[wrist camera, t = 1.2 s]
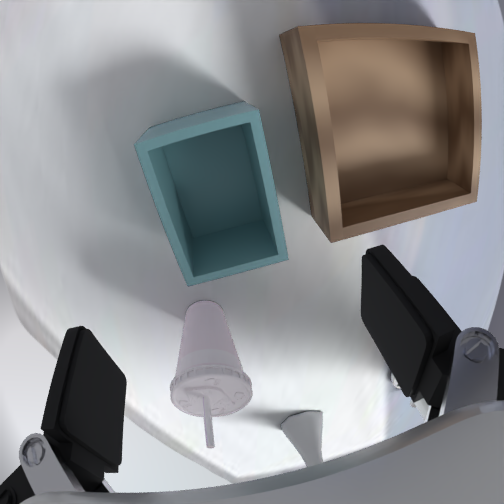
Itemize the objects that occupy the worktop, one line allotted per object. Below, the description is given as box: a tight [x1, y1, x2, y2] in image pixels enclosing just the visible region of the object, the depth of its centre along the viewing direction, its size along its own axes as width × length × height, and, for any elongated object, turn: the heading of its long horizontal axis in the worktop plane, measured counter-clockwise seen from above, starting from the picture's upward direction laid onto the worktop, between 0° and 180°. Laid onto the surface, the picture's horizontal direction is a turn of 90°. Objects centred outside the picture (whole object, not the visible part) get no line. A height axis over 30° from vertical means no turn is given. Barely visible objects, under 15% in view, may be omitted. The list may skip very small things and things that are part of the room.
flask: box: [281, 411, 323, 467], centre depth 42 cm, size 7×7×10 cm
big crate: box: [279, 23, 482, 243], centre depth 21 cm, size 15×15×4 cm
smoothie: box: [170, 301, 252, 448], centre depth 25 cm, size 6×6×14 cm
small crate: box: [134, 101, 289, 286], centre depth 21 cm, size 10×7×6 cm
